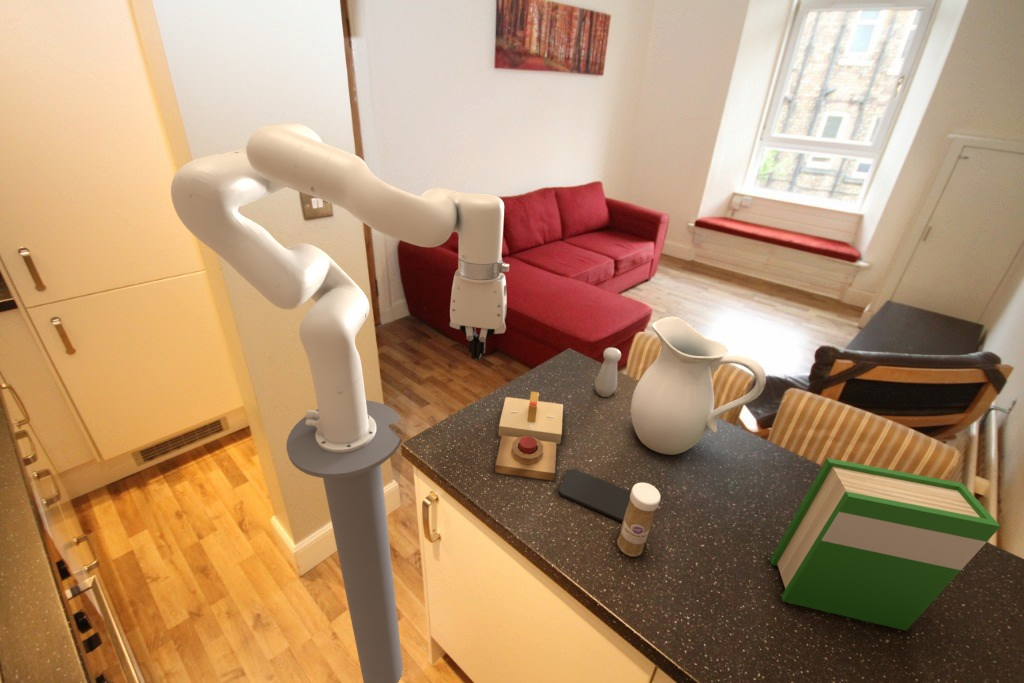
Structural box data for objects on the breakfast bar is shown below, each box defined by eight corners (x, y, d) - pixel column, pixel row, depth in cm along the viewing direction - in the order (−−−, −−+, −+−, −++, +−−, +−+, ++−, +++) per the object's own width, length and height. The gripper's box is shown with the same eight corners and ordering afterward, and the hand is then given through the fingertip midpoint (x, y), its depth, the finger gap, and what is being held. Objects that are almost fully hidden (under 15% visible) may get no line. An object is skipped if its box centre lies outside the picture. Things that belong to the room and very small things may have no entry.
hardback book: (783, 601, 71) (848, 496, 59) (770, 560, 77) (826, 457, 66) (906, 630, 68) (1000, 526, 56) (882, 585, 75) (962, 483, 63)
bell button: (518, 453, 91) (518, 446, 90) (519, 441, 94) (520, 434, 93) (535, 455, 91) (536, 449, 90) (536, 443, 94) (537, 437, 93)
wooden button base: (494, 472, 91) (495, 458, 89) (501, 442, 99) (502, 428, 97) (553, 481, 90) (555, 466, 88) (555, 450, 98) (557, 436, 96)
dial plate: (498, 436, 100) (498, 425, 99) (504, 406, 110) (505, 396, 108) (560, 444, 99) (561, 433, 98) (561, 414, 109) (563, 403, 107)
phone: (570, 467, 92) (642, 496, 87) (569, 470, 93) (641, 499, 87) (556, 491, 86) (633, 524, 81) (556, 494, 87) (632, 527, 81)
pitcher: (610, 433, 104) (634, 328, 90) (650, 406, 114) (677, 308, 100) (705, 497, 89) (752, 382, 75) (742, 460, 99) (789, 353, 85)
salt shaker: (592, 396, 116) (600, 353, 110) (593, 384, 121) (601, 342, 115) (614, 400, 115) (624, 358, 109) (615, 388, 120) (624, 346, 114)
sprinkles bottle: (619, 557, 76) (635, 502, 69) (614, 534, 80) (629, 480, 73) (646, 558, 76) (664, 504, 69) (639, 535, 80) (656, 481, 73)
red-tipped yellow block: (529, 406, 106) (531, 390, 103) (537, 407, 106) (538, 391, 103) (527, 421, 101) (529, 404, 99) (535, 422, 101) (537, 405, 98)
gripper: (523, 264, 82) (516, 350, 91) (443, 256, 83) (444, 342, 92) (519, 279, 75) (512, 370, 84) (432, 270, 76) (434, 361, 85)
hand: (476, 355), depth 88 cm, fingers closed
